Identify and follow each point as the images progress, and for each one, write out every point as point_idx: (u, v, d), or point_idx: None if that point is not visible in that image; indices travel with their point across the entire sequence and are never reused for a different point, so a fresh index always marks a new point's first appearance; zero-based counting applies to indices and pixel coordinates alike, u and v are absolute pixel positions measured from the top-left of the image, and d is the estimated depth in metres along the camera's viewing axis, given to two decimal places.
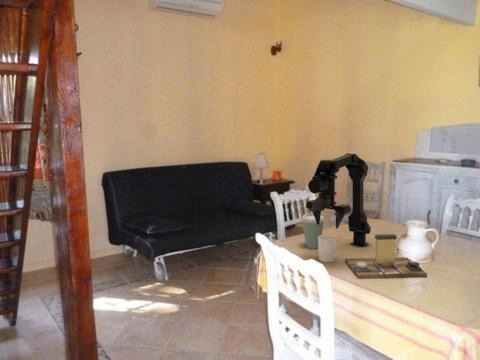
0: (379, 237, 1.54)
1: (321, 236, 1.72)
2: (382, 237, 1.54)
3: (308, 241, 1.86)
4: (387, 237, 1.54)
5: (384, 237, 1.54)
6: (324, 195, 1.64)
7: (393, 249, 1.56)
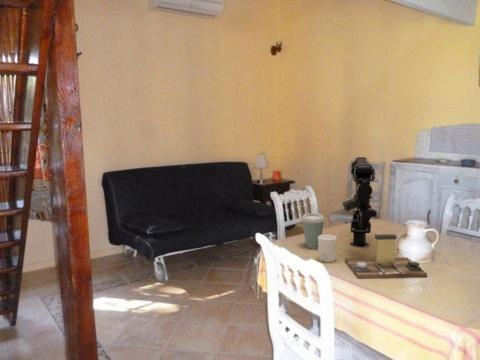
0: (379, 237, 1.54)
1: (321, 236, 1.72)
2: (382, 237, 1.54)
3: (308, 241, 1.86)
4: (387, 237, 1.54)
5: (384, 237, 1.54)
6: None
7: (393, 249, 1.56)
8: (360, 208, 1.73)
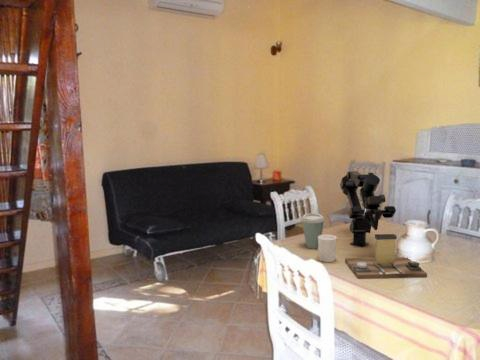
0: (379, 237, 1.54)
1: (321, 236, 1.72)
2: (382, 237, 1.54)
3: (308, 241, 1.86)
4: (387, 237, 1.54)
5: (384, 237, 1.54)
6: None
7: (393, 249, 1.56)
8: (373, 210, 1.71)
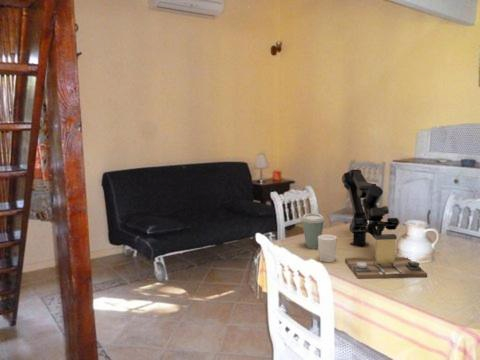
0: (379, 237, 1.54)
1: (321, 236, 1.72)
2: (382, 237, 1.54)
3: (308, 241, 1.86)
4: (387, 237, 1.54)
5: (384, 237, 1.54)
6: None
7: (393, 249, 1.56)
8: None
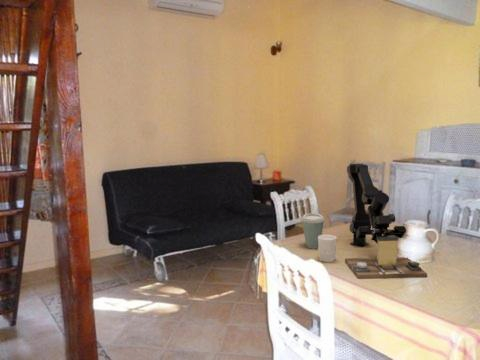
0: (381, 238, 1.53)
1: (321, 236, 1.72)
2: (384, 238, 1.53)
3: (308, 241, 1.86)
4: (389, 238, 1.53)
5: (386, 238, 1.53)
6: None
7: (395, 250, 1.54)
8: (382, 230, 1.60)
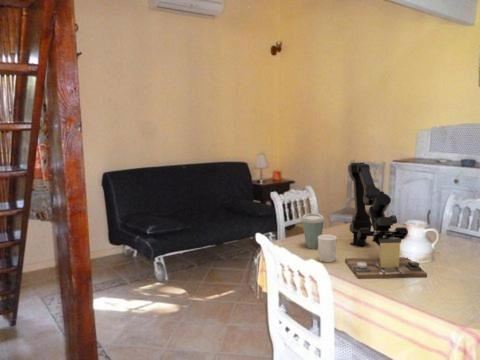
0: (383, 240, 1.50)
1: (321, 236, 1.72)
2: (386, 240, 1.50)
3: (308, 241, 1.86)
4: (391, 240, 1.50)
5: (388, 240, 1.50)
6: None
7: (397, 253, 1.51)
8: None
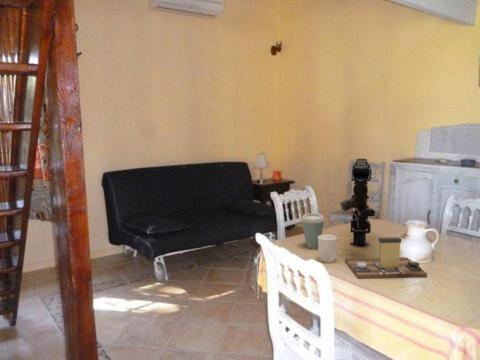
0: (383, 240, 1.50)
1: (321, 236, 1.72)
2: (386, 240, 1.50)
3: (308, 241, 1.86)
4: (391, 240, 1.50)
5: (388, 240, 1.50)
6: (354, 197, 1.73)
7: (397, 253, 1.51)
8: (358, 208, 1.74)
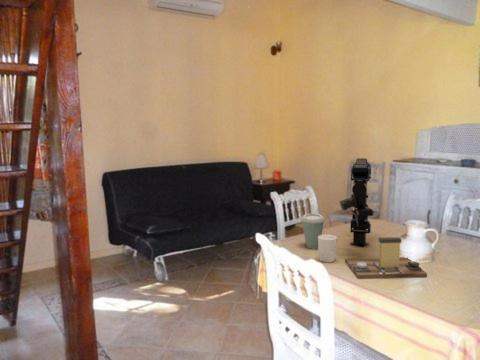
0: (383, 240, 1.50)
1: (321, 236, 1.72)
2: (386, 240, 1.50)
3: (308, 241, 1.86)
4: (391, 240, 1.50)
5: (388, 240, 1.50)
6: None
7: (397, 253, 1.51)
8: (358, 208, 1.74)
